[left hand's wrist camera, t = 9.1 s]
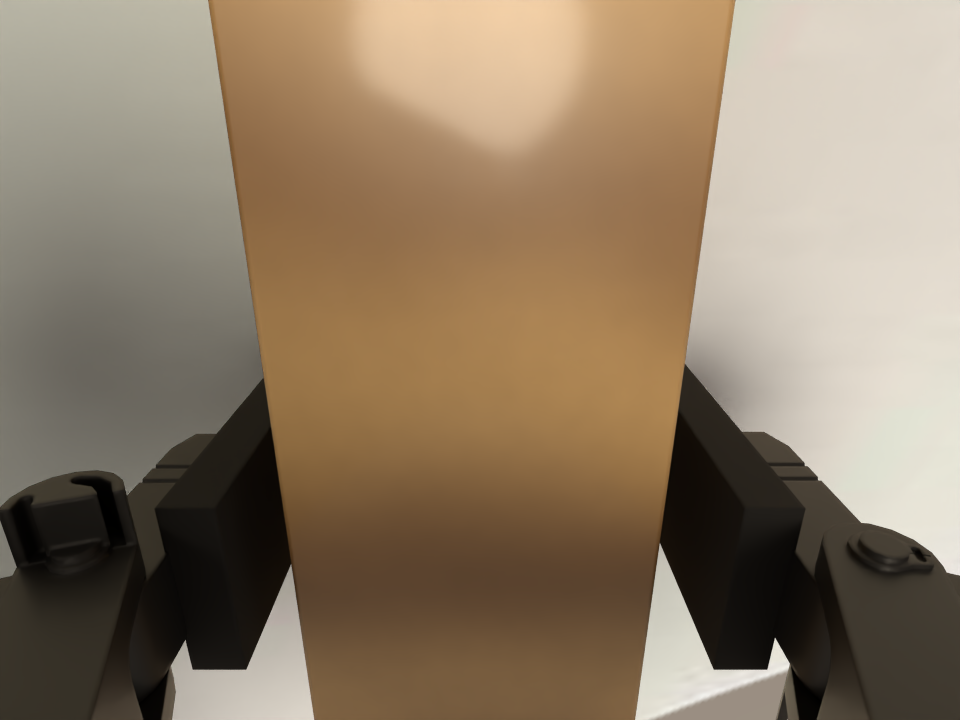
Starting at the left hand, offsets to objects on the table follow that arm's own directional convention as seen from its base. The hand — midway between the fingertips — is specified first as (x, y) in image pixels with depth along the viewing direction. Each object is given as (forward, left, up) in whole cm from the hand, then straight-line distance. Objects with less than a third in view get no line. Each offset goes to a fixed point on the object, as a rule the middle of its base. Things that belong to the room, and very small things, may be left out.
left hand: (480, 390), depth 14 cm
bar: (+16, +28, -1) cm, 32 cm away
